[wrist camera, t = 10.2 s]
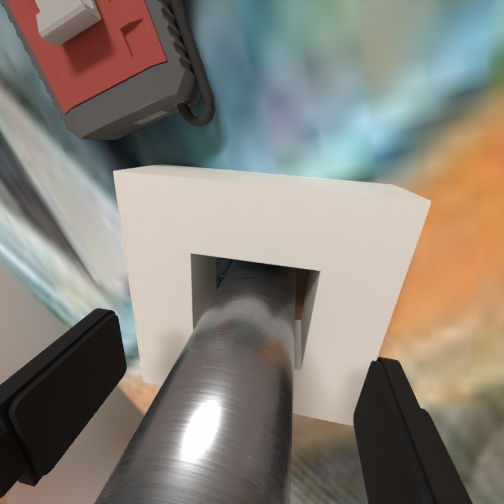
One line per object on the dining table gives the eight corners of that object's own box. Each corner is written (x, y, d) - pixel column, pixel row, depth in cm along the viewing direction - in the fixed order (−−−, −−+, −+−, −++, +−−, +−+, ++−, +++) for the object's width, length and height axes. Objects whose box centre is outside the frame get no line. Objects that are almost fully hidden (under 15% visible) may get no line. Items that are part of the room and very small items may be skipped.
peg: (300, 249, 14) (302, 566, 4) (291, 307, 16) (274, 650, 5) (232, 240, 15) (53, 494, 4) (230, 298, 17) (96, 590, 6)
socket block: (393, 184, 12) (431, 201, 9) (342, 366, 17) (353, 426, 14) (161, 164, 14) (112, 170, 10) (173, 336, 19) (143, 382, 15)
